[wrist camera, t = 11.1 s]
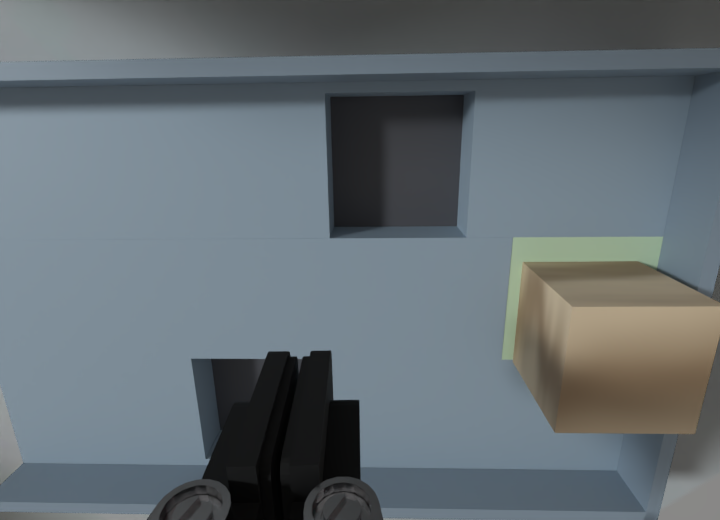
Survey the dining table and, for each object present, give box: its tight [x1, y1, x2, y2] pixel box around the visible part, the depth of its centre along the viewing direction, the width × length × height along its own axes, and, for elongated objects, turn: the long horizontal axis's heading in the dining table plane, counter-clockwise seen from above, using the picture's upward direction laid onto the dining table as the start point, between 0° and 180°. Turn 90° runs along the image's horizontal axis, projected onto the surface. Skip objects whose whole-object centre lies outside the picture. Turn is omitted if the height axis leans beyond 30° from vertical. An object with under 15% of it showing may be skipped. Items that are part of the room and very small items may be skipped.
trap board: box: [0, 48, 720, 520], centre depth 20 cm, size 20×32×5 cm, turn 91°
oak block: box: [513, 261, 720, 434], centre depth 17 cm, size 5×5×5 cm
